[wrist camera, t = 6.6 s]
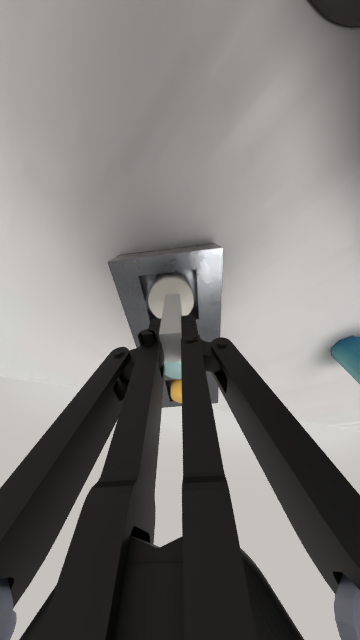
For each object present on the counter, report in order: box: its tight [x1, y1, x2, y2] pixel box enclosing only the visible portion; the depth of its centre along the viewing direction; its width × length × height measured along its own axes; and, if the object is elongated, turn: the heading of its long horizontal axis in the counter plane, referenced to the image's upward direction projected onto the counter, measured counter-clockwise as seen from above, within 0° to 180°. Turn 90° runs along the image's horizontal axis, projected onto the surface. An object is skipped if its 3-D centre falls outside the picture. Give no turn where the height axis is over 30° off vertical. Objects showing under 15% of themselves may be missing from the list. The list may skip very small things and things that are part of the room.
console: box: [108, 243, 223, 408], centre depth 25 cm, size 28×12×4 cm, turn 6°
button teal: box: [164, 359, 181, 379], centre depth 23 cm, size 5×5×4 cm
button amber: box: [171, 379, 182, 403], centre depth 29 cm, size 5×5×4 cm
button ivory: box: [148, 272, 194, 319], centre depth 19 cm, size 5×5×4 cm
